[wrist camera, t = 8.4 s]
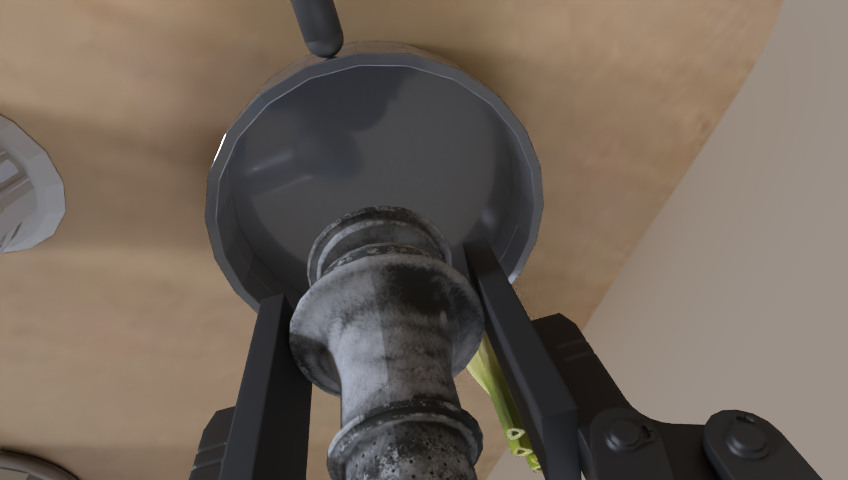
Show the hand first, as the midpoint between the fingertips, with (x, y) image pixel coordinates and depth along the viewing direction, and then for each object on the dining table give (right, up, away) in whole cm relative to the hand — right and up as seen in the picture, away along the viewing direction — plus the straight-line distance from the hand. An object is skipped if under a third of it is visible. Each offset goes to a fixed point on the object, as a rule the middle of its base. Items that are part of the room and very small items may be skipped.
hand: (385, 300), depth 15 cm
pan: (-2, +5, +15) cm, 16 cm away
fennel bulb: (+6, -5, +22) cm, 24 cm away
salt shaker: (0, +1, +2) cm, 2 cm away
